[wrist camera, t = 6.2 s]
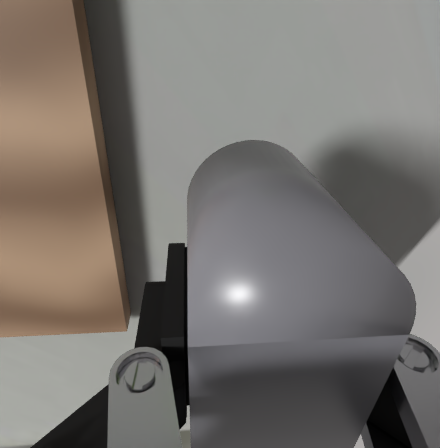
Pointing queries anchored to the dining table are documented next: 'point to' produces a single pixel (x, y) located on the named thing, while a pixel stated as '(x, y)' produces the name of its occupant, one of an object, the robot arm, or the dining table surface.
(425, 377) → the robot arm
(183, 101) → the dining table surface
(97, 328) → the walnut board
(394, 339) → the block
